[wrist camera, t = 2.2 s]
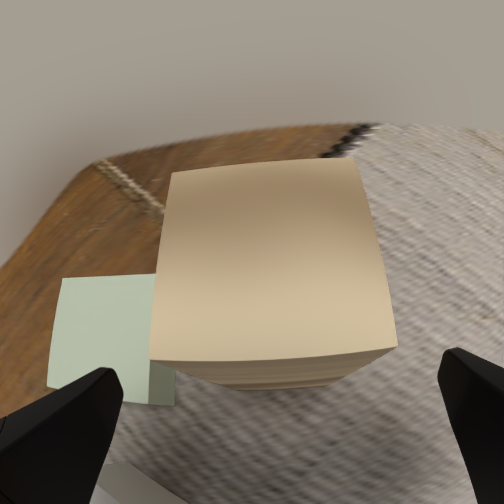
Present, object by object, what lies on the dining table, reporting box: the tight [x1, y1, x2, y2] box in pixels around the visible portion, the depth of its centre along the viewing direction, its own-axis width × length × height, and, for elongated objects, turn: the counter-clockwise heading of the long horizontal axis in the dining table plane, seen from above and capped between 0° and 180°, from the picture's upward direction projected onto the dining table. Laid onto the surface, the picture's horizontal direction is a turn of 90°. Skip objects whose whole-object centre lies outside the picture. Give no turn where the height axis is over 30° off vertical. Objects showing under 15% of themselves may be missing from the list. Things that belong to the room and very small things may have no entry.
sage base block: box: [47, 274, 176, 406], centre depth 17 cm, size 7×7×4 cm
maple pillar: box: [148, 157, 398, 390], centre depth 12 cm, size 5×5×12 cm
